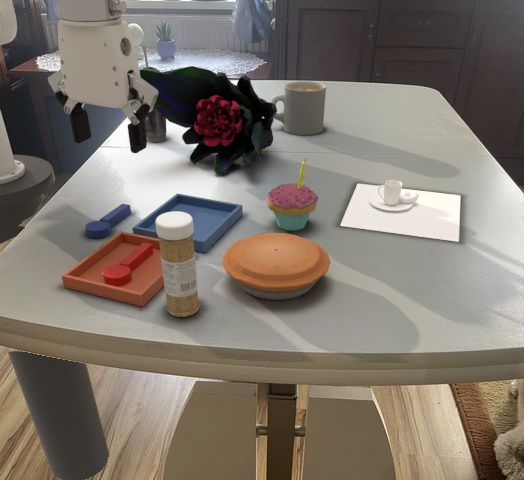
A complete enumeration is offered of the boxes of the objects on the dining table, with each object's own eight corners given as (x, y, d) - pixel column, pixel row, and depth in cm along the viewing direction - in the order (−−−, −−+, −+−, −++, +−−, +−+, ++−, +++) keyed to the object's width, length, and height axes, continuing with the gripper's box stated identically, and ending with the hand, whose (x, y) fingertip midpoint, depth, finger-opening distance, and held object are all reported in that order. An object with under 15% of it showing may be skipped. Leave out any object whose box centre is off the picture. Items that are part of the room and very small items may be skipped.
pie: (320, 253, 87) (323, 224, 84) (335, 308, 75) (338, 277, 72) (224, 255, 87) (222, 226, 84) (222, 310, 75) (221, 279, 72)
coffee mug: (322, 123, 141) (325, 81, 135) (323, 135, 134) (326, 91, 127) (271, 121, 142) (271, 80, 136) (268, 134, 134) (269, 90, 128)
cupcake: (320, 218, 97) (325, 150, 90) (308, 239, 91) (313, 168, 84) (274, 212, 100) (275, 145, 92) (259, 232, 93) (260, 162, 86)
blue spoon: (118, 210, 99) (116, 202, 98) (137, 214, 98) (135, 205, 97) (81, 236, 92) (79, 227, 91) (101, 240, 90) (100, 231, 89)
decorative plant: (270, 195, 128) (205, 209, 103) (187, 132, 132) (104, 131, 106) (317, 112, 118) (258, 106, 92) (225, 47, 121) (144, 23, 96)
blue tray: (133, 238, 91) (132, 227, 90) (177, 203, 102) (177, 193, 101) (204, 252, 87) (204, 242, 86) (242, 214, 98) (242, 204, 97)
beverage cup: (177, 136, 133) (169, 42, 120) (164, 145, 127) (154, 49, 115) (149, 133, 134) (139, 40, 122) (135, 142, 129) (123, 46, 116)
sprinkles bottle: (194, 297, 77) (187, 207, 69) (204, 314, 74) (197, 222, 66) (162, 303, 76) (151, 213, 68) (170, 321, 73) (159, 228, 64)
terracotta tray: (64, 287, 79) (61, 275, 78) (122, 241, 90) (120, 231, 89) (142, 306, 75) (141, 295, 74) (194, 256, 86) (193, 245, 85)
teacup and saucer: (418, 199, 104) (422, 178, 102) (414, 216, 98) (419, 194, 96) (372, 193, 106) (374, 172, 104) (366, 210, 100) (368, 188, 98)
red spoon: (138, 249, 87) (136, 240, 86) (160, 254, 86) (159, 245, 85) (98, 283, 79) (96, 273, 78) (122, 288, 78) (120, 279, 77)
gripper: (164, 10, 70) (175, 146, 80) (53, 0, 75) (78, 129, 85) (131, 18, 64) (148, 163, 75) (14, 7, 69) (45, 144, 80)
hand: (110, 145), depth 80 cm, fingers open, 9 cm apart
